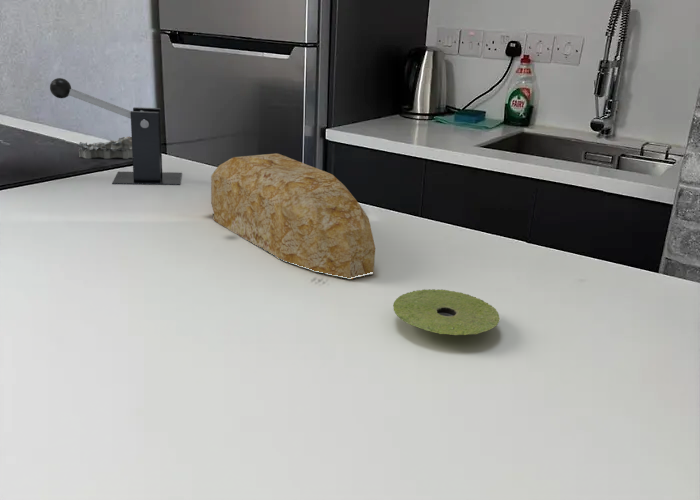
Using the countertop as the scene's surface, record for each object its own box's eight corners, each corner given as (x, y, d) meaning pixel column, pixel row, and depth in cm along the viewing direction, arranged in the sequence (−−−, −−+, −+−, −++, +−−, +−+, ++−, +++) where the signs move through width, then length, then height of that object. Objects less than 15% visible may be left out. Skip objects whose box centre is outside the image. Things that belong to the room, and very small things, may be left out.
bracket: (112, 190, 114) (107, 112, 109) (118, 178, 121) (114, 105, 117) (180, 190, 116) (178, 115, 111) (182, 178, 123) (180, 107, 119)
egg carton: (138, 156, 138) (137, 136, 136) (135, 164, 131) (134, 143, 130) (82, 154, 135) (80, 134, 134) (76, 163, 129) (74, 142, 127)
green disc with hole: (408, 354, 67) (410, 336, 66) (380, 305, 77) (381, 289, 76) (515, 349, 69) (518, 331, 68) (473, 302, 79) (475, 287, 79)
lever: (45, 95, 109) (51, 76, 108) (49, 92, 112) (55, 73, 111) (150, 134, 114) (156, 116, 113) (152, 130, 117) (158, 113, 116)
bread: (191, 207, 107) (190, 144, 104) (252, 199, 114) (253, 139, 110) (324, 286, 81) (328, 205, 78) (393, 270, 87) (400, 194, 84)
